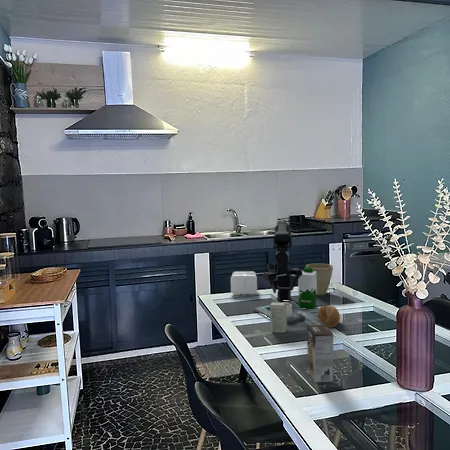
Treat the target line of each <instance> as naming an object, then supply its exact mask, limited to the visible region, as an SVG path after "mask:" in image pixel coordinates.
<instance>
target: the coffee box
mask: <svg viewBox="0 0 450 450" xmlns="http://www.w3.org/2000/svg"><path fill="white" fill-rule="evenodd" d="M306 334H307V335H306V336H307V339H306V340H307V341H306V342H307V343H306V344H307V346H306V347H307V371H308V373H309V374H310V376H311V378H312V380H313V382H314V383H327V382H329V383H330V382H334V333H333V332H332V331H331V330H330V327H327V326H326V325H325V324H322V323H321V324H318V323H316V324H306Z"/></svg>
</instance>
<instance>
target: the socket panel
mask: <svg viewBox="0 0 450 450" xmlns="http://www.w3.org/2000/svg"><path fill="white" fill-rule="evenodd" d="M253 311H254V312H255V313H257V312H258V313H257V314H259V313H261V314H264V315H266V316H267V317H269V318H270V319H271V314H270V304H267V305H263V306H257V307H253ZM261 314H260V315H261ZM270 319H269V320H270ZM286 319H287V324H292V323H296V322H297V323H298V322H302V321H306V316H305V315H302V314H301V313H298V312H296V311H294V310H292V317H287V318H286Z"/></svg>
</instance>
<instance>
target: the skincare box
mask: <svg viewBox="0 0 450 450" xmlns="http://www.w3.org/2000/svg"><path fill="white" fill-rule="evenodd" d="M269 305H270V310H269V311H270V314H271V320H270V329H271V331H270V332H272V333H287V330H288V323H287V319H286V303H284V302H281V301H271V303H270V304H269Z"/></svg>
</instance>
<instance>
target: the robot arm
mask: <svg viewBox="0 0 450 450" xmlns="http://www.w3.org/2000/svg"><path fill="white" fill-rule="evenodd" d="M292 241H293V240H292V226H290V225H289V224H288V222H286V221H279V222H277V225H276V226H275V227H274V235H273V250H274V249H275V261H274V264H273V263H271V262H269V263H267V264H266V269H267V271H265V272H263V274H262V278H263V280H265V281H267V282H269V284H270V287H271V288H272V289H271V290H272V291H273V294H276V296H277V298H276V300H277V301H278V302H281V301H283V300H290V301H289V302H291V301H293V298H292V291H293V290H294V287H295V285H296V284H297V283H298V278H300V276H302V271H303V270H302V269H301V268H298V267H292V268H290V267H289V266H290V265H291V262H290V261H289V260H290V259H289V257H290V255H289V253H290V252H289V250H290V249H291V248H292Z"/></svg>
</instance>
